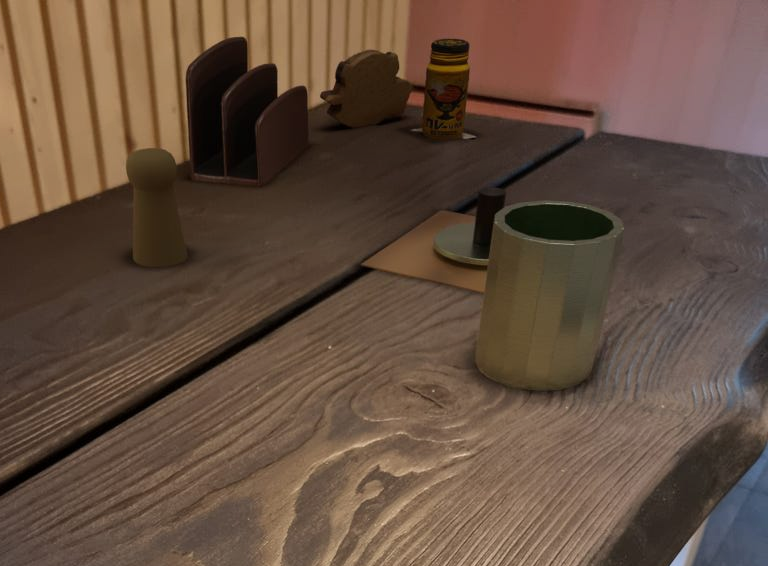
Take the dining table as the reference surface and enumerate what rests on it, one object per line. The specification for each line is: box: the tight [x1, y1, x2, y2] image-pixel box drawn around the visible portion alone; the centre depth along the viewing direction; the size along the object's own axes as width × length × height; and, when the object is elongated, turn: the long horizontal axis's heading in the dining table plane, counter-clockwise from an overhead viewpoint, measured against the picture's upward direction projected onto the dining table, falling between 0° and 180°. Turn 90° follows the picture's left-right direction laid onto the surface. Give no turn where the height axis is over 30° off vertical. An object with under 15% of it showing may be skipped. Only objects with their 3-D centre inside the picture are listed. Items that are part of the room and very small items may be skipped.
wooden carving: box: [319, 49, 414, 129], centre depth 137 cm, size 16×5×10 cm, turn 130°
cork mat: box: [360, 209, 488, 294], centre depth 101 cm, size 20×20×1 cm
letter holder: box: [185, 36, 310, 188], centre depth 122 cm, size 10×20×14 cm, turn 161°
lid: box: [434, 186, 507, 265], centre depth 98 cm, size 11×11×6 cm
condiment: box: [411, 37, 477, 140], centre depth 132 cm, size 7×8×12 cm
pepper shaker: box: [125, 147, 188, 268], centre depth 97 cm, size 6×6×11 cm
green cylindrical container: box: [474, 200, 625, 392], centre depth 78 cm, size 10×10×12 cm
